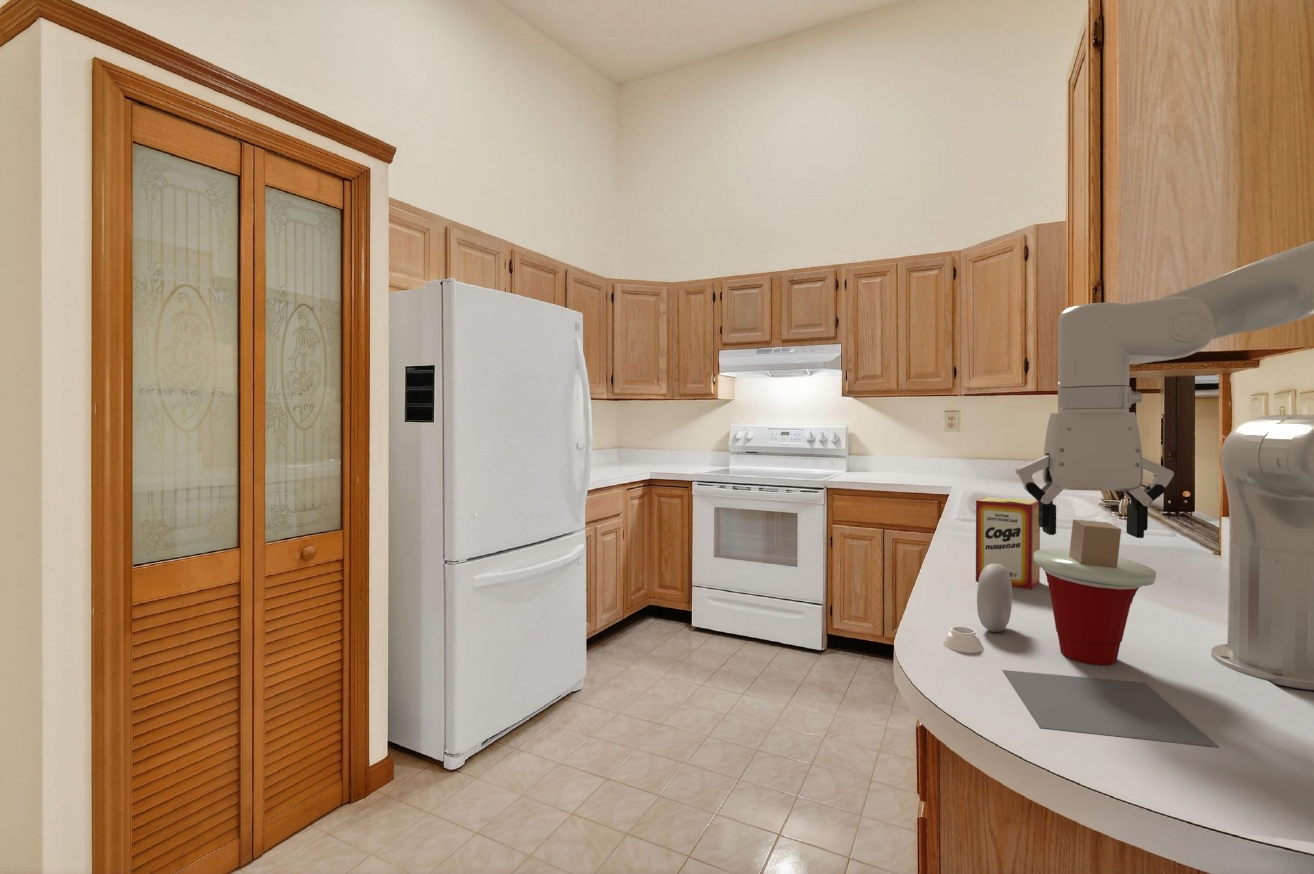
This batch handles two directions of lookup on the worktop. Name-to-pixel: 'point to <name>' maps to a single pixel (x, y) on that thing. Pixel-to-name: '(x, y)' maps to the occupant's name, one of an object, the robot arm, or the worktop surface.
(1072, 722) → the mat
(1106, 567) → the lid
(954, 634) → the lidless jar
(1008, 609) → the donut
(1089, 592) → the plastic cup
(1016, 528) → the baking soda box
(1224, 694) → the worktop surface
